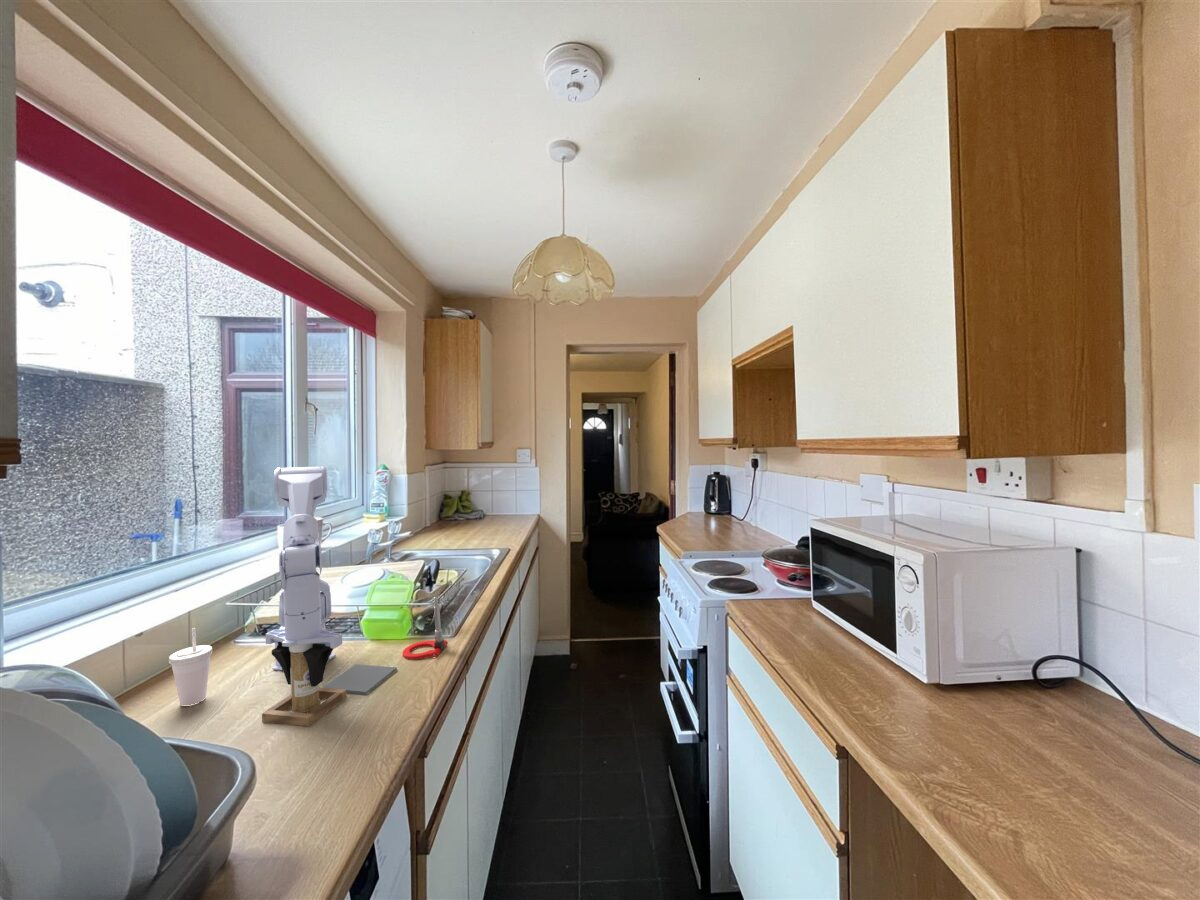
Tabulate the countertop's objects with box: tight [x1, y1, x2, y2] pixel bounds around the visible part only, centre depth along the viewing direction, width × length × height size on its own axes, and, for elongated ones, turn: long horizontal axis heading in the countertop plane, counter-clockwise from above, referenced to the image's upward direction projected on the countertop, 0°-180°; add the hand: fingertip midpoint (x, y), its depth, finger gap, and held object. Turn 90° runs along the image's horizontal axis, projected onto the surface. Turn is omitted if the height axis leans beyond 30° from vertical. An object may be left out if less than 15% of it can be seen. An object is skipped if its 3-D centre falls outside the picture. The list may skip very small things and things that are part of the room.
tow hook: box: [401, 596, 449, 660], centre depth 111 cm, size 8×13×9 cm
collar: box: [261, 686, 348, 727], centre depth 88 cm, size 9×9×2 cm
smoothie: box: [168, 627, 213, 705], centre depth 91 cm, size 6×6×14 cm
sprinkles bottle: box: [289, 644, 321, 713], centre depth 88 cm, size 5×5×14 cm
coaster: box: [322, 663, 398, 696], centre depth 98 cm, size 10×10×1 cm
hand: (305, 682), depth 88 cm, fingers closed on sprinkles bottle, 4 cm apart
